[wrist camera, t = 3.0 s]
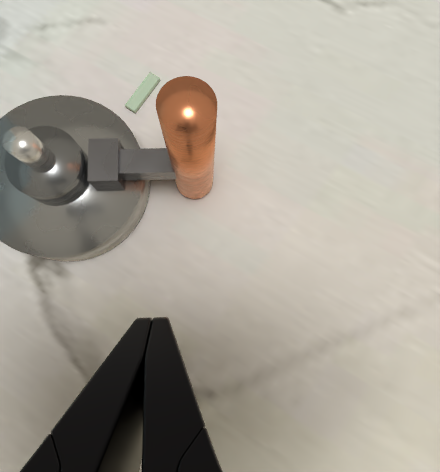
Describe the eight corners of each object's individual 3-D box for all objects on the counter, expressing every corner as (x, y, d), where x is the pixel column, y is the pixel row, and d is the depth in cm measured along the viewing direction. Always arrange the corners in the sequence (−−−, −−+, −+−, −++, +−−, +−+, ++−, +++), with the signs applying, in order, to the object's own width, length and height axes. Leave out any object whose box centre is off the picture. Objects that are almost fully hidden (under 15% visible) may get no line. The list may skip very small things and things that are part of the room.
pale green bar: (135, 113, 24) (134, 111, 24) (125, 107, 24) (124, 105, 24) (160, 80, 25) (159, 78, 25) (150, 74, 25) (150, 72, 25)
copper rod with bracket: (107, 200, 23) (39, 135, 13) (108, 165, 23) (42, 77, 14) (213, 198, 23) (218, 132, 14) (212, 163, 23) (216, 75, 14)
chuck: (86, 292, 22) (31, 291, 15) (-37, 203, 23) (-142, 163, 16) (179, 169, 24) (168, 118, 17) (62, 89, 24) (5, 8, 18)
